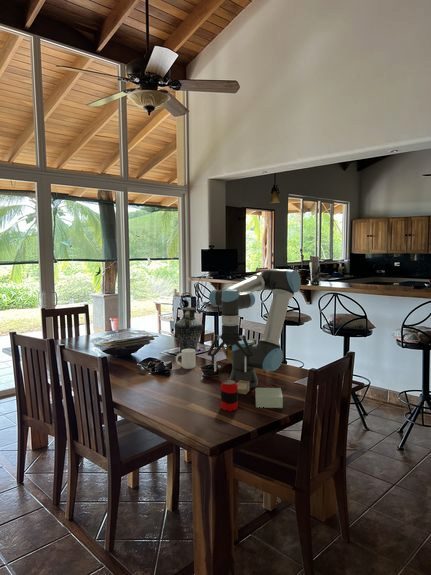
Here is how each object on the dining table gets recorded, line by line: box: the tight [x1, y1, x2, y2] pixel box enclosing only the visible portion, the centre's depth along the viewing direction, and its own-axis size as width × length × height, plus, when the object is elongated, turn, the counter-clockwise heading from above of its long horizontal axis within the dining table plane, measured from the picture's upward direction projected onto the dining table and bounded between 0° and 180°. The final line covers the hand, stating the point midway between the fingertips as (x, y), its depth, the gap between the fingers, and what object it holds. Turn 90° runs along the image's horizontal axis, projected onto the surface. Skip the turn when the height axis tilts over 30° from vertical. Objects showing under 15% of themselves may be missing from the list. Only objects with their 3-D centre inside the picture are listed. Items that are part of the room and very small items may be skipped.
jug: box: [174, 306, 204, 352], centre depth 291 cm, size 21×19×30 cm
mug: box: [175, 349, 196, 370], centre depth 255 cm, size 12×8×10 cm
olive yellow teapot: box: [221, 338, 257, 365], centre depth 260 cm, size 22×17×15 cm
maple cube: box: [237, 380, 250, 395], centre depth 213 cm, size 5×5×5 cm
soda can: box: [220, 379, 239, 412], centre depth 193 cm, size 8×8×12 cm
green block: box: [255, 387, 284, 409], centre depth 199 cm, size 12×12×5 cm
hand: (230, 371), depth 192 cm, fingers open, 13 cm apart
